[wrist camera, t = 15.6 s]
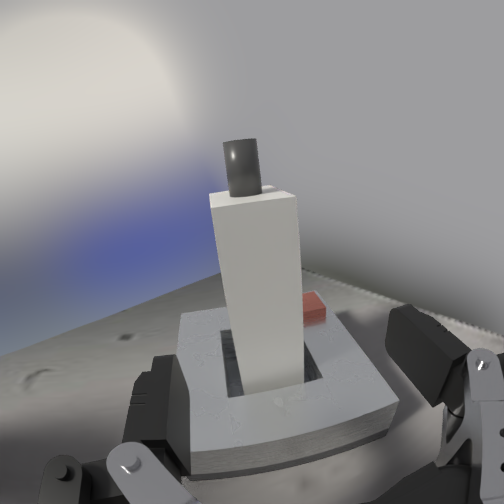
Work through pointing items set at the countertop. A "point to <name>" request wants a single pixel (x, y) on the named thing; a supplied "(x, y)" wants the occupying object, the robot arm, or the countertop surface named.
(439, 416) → the countertop surface
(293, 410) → the socket box
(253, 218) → the plug
